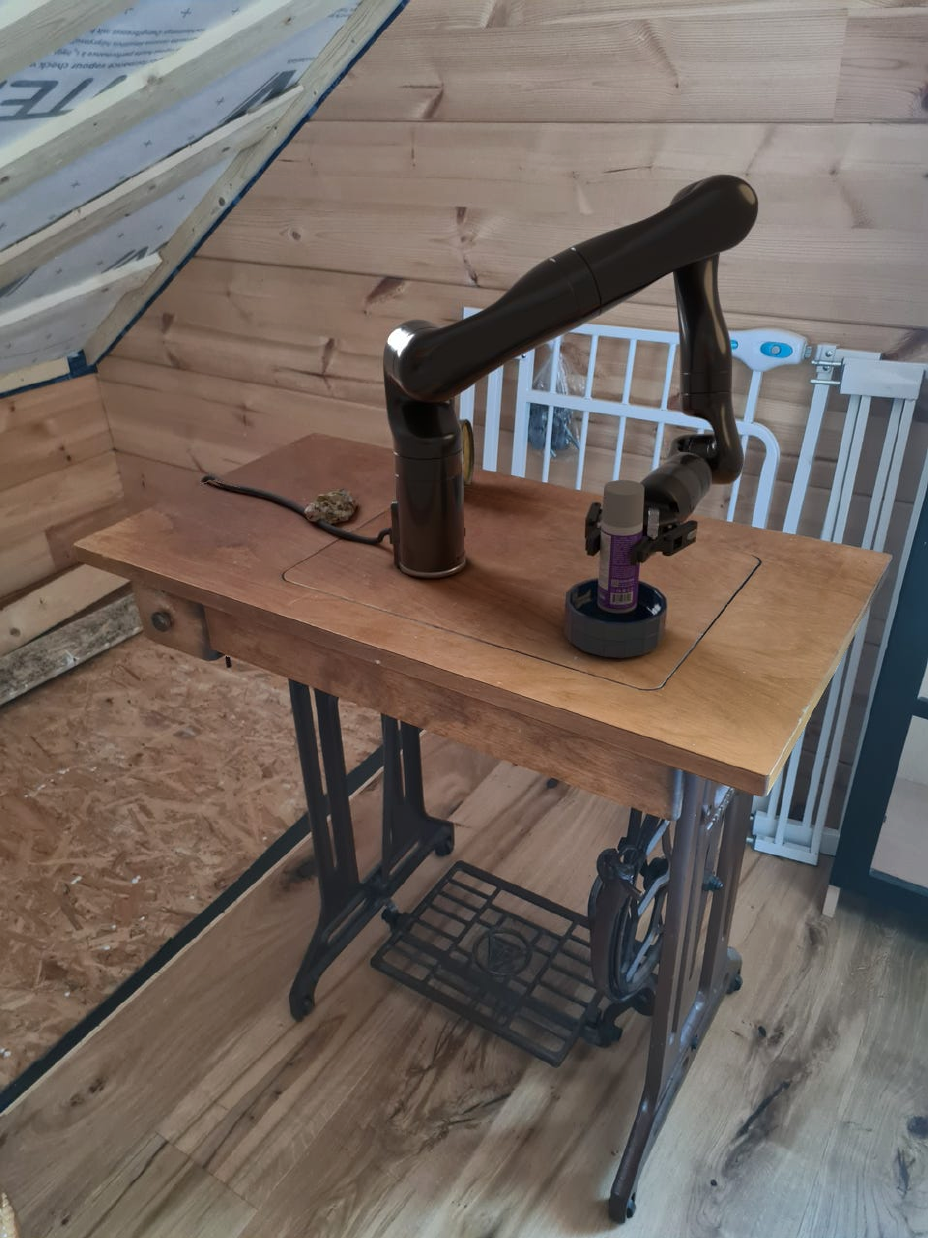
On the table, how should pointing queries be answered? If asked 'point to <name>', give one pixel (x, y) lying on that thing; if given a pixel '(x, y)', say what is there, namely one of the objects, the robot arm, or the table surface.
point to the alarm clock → (467, 449)
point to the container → (620, 545)
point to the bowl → (614, 622)
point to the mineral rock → (331, 507)
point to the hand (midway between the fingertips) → (612, 552)
